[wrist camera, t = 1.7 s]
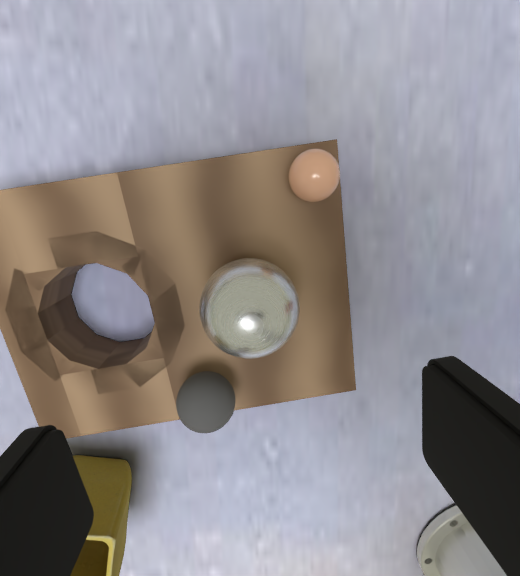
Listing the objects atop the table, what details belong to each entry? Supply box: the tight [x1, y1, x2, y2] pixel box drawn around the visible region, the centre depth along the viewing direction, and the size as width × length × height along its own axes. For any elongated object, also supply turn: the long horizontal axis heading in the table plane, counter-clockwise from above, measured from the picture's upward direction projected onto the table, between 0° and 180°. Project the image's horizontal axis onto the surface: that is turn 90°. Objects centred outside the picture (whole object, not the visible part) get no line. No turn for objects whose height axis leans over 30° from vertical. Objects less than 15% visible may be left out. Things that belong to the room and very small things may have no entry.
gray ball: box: [176, 371, 235, 433], centre depth 22 cm, size 4×4×4 cm
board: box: [0, 139, 356, 438], centre depth 24 cm, size 24×18×4 cm
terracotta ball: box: [289, 149, 340, 202], centre depth 19 cm, size 3×3×3 cm
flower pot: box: [70, 455, 132, 576], centre depth 27 cm, size 9×9×9 cm
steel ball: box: [199, 258, 300, 359], centre depth 19 cm, size 6×6×6 cm
